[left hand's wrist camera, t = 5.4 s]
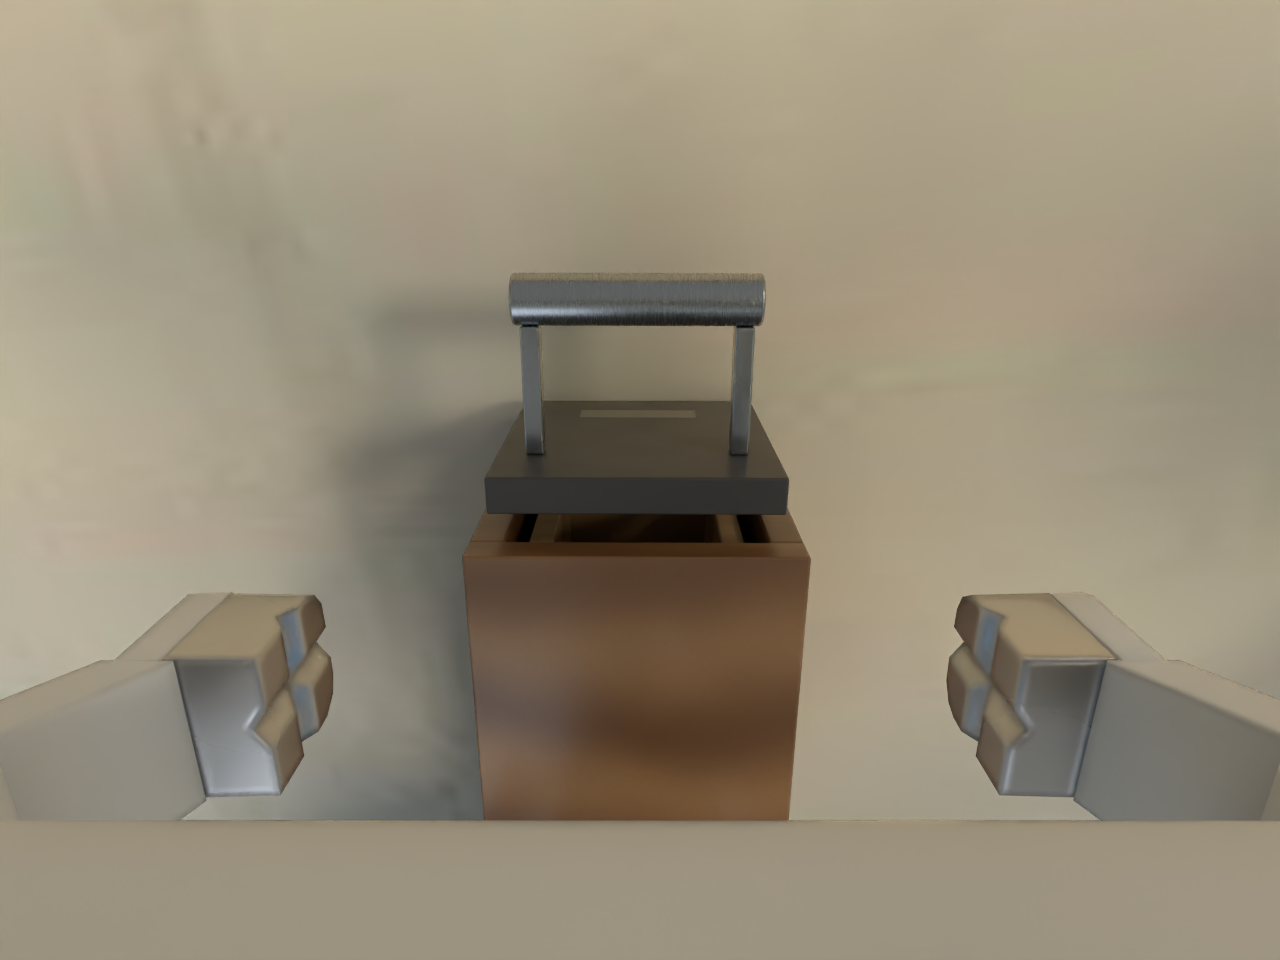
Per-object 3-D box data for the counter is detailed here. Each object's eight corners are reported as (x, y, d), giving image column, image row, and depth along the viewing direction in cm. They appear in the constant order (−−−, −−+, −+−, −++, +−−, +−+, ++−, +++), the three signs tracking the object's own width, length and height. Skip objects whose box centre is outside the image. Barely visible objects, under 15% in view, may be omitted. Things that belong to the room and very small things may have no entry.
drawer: (518, 255, 30) (470, 282, 22) (758, 256, 30) (804, 282, 22) (545, 796, 39) (518, 967, 30) (730, 797, 39) (754, 967, 30)
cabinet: (517, 441, 34) (461, 556, 23) (759, 442, 34) (811, 557, 23) (538, 835, 41) (503, 1057, 31) (736, 836, 41) (769, 1058, 31)
